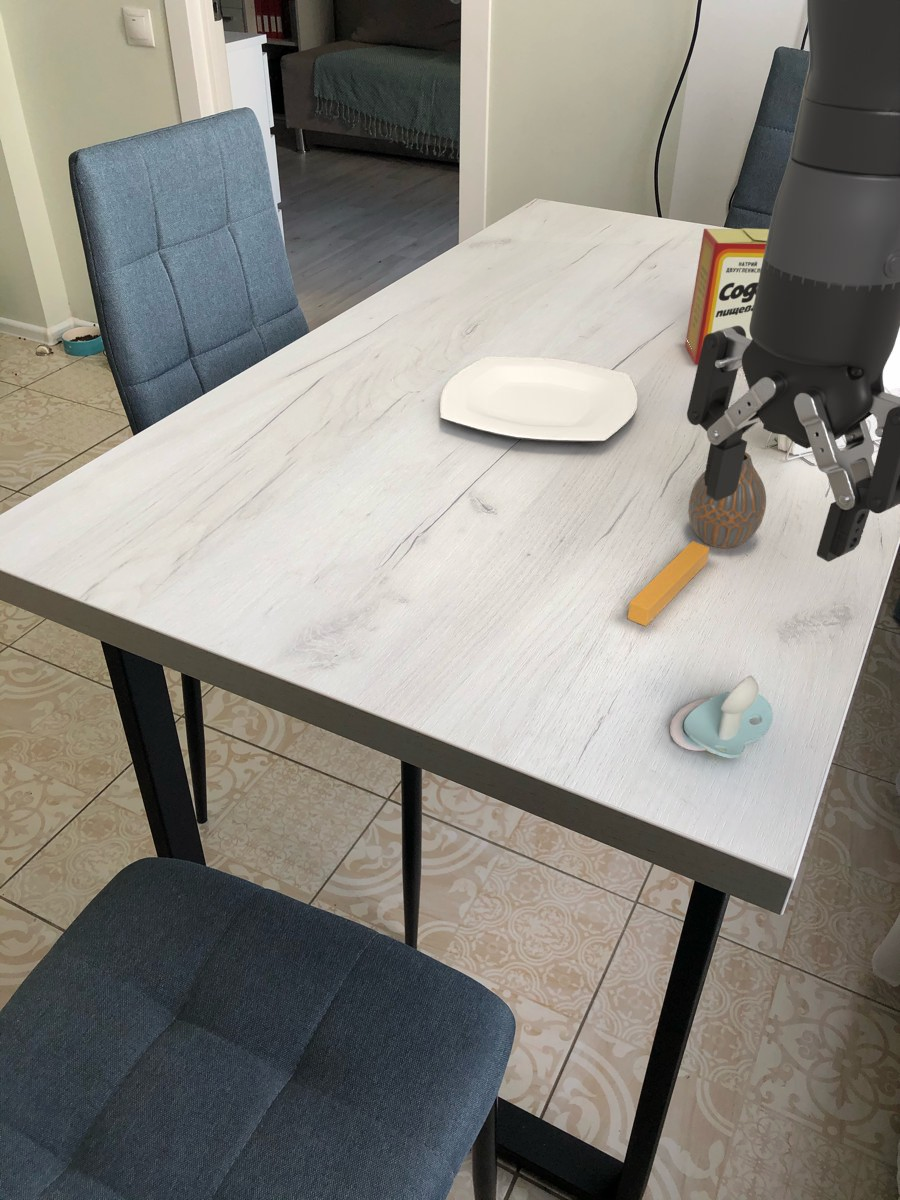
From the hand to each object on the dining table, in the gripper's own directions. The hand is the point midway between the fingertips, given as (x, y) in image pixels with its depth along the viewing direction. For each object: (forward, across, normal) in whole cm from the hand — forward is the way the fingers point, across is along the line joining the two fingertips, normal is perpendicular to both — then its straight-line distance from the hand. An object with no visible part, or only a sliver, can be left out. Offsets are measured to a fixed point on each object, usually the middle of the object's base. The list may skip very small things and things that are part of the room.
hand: (773, 523), depth 58 cm
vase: (+18, +18, -20) cm, 33 cm away
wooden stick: (+18, +15, -10) cm, 25 cm away
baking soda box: (+18, +49, -56) cm, 77 cm away
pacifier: (+18, 0, +1) cm, 18 cm away
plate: (+18, +50, -24) cm, 59 cm away
